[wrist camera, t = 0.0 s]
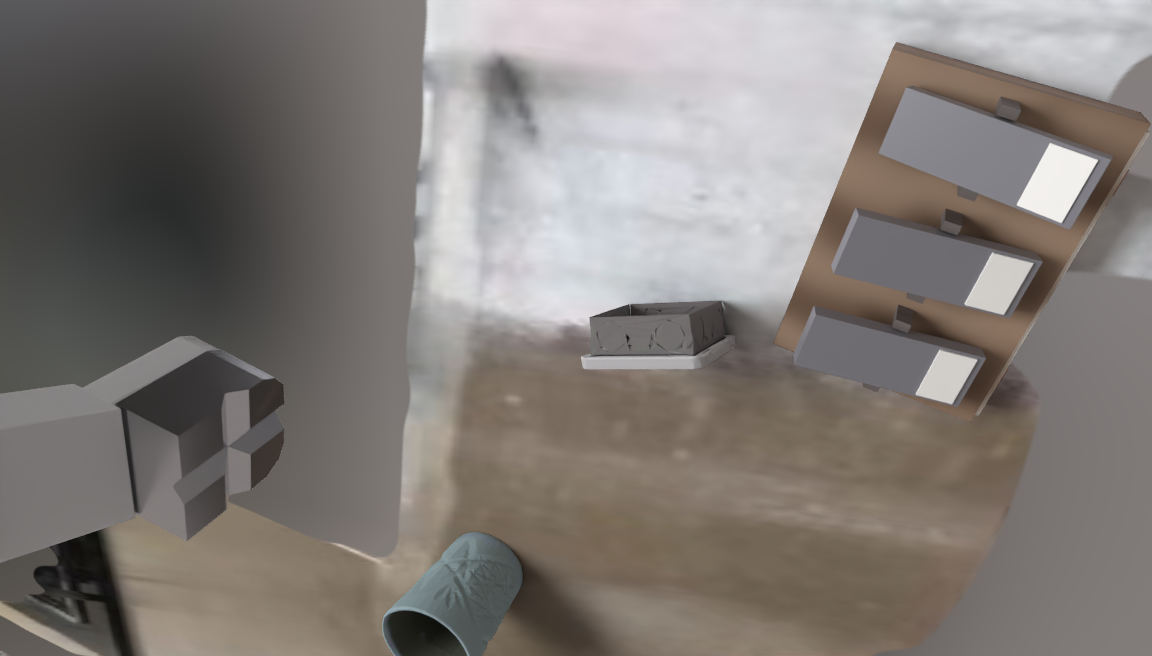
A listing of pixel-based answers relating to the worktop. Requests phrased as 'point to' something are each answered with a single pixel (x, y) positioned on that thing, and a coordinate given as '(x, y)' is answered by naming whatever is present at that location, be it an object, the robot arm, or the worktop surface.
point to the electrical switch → (658, 336)
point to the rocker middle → (935, 263)
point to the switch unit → (959, 211)
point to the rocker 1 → (887, 356)
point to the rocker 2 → (994, 156)
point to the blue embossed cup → (456, 601)
